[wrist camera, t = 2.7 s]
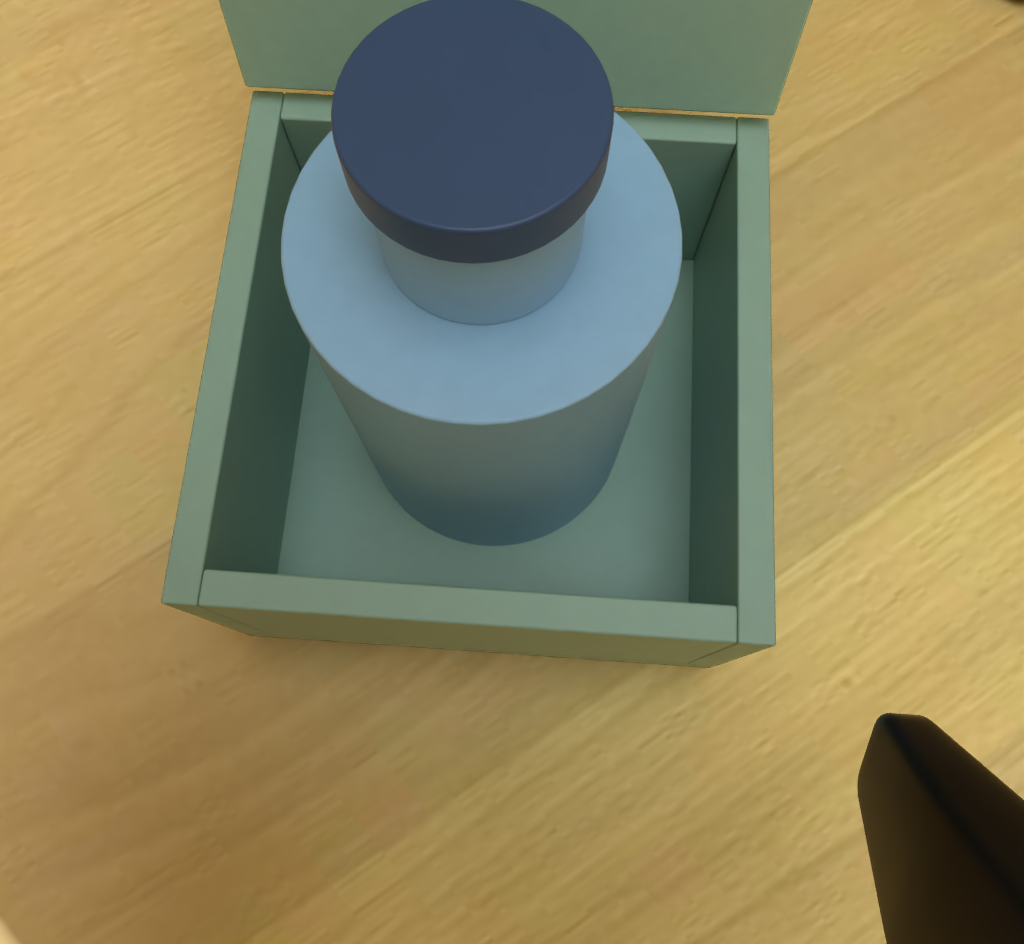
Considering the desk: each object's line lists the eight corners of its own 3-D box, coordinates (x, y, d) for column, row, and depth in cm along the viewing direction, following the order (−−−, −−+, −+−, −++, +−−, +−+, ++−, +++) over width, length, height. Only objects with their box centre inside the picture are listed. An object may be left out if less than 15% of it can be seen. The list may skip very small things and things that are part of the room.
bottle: (496, 600, 21) (470, 447, 10) (318, 425, 23) (114, 111, 11) (671, 421, 23) (830, 102, 11) (494, 265, 24) (472, -165, 13)
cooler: (710, 667, 22) (776, 645, 16) (248, 635, 22) (159, 602, 16) (713, 253, 25) (769, 117, 19) (310, 229, 25) (252, 89, 20)
